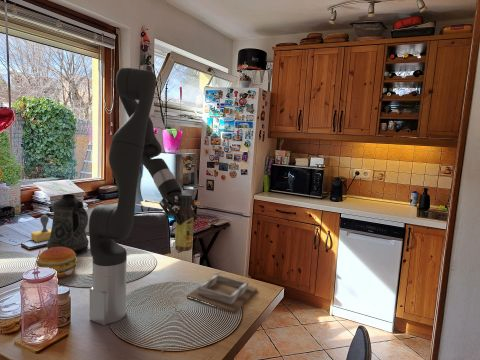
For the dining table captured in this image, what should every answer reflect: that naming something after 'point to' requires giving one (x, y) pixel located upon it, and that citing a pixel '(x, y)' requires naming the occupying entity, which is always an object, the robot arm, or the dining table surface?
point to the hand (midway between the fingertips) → (188, 222)
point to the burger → (58, 260)
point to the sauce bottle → (185, 225)
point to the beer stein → (69, 225)
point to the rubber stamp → (42, 231)
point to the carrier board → (224, 292)
